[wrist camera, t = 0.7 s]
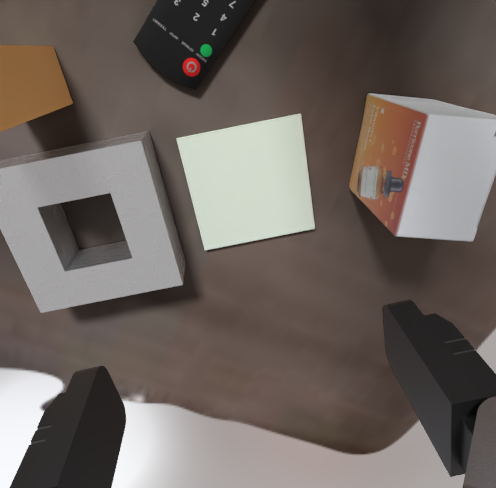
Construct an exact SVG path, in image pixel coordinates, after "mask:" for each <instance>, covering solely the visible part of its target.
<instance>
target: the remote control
mask: <svg viewBox="0 0 496 488" xmlns="http://www.w3.org/2000/svg"><path fill="white" fill-rule="evenodd" d="M254 1H255V0H158V1H157V2H156V4H155V6H154V7H153V9H152V11H151V13H150V14H149V16H148V18H147V19H146V21H145V23H144V24H143V26H142V28H141V30H140V31H139V33H138V35H137V36H136V38H135V40H134V41H133V42H134V43H135V45H136V46H137V47H138V49H139V50H140V51H141V53H142V54H143V55H144V57H145V58H146V59H147V60H148V61H149V62H150V63H151V64H152V65H153V66H154V67H155V68H156V69H157V70H158V71H159V72H161V73H162V74H164V75H165V76H167V77H169V78H170V79H172V80H174V81H175V82H177V83H179V84H182V85H185V86H188V87H190V88H193V89H196V88H197V87H198V85H199V84H200V82H201V81H202V79H203V78H204V76H205V75H206V73H207V72H208V70H209V69H210V67H211V66H212V64H213V63H214V61H215V60H216V58H217V56H218V55H219V53H220V52H221V50H222V49H223V47H224V46H225V44H226V43H227V41H228V40H229V38H230V37H231V35H232V34H233V32H234V31H235V29H236V28H237V26H238V25H239V23H240V22H241V20H242V19H243V17H244V16H245V14H246V13H247V11H248V10H249V8H250V7H251V5H252V4H253V2H254Z"/></svg>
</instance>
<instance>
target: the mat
mask: <svg viewBox="0 0 496 488" xmlns="http://www.w3.org/2000/svg"><path fill="white" fill-rule="evenodd" d="M177 143H178V147H179V151H180V155H181V159H182V163H183V167H184V171H185V174H186V178H187V182H188V186H189V190H190V194H191V198H192V202H193V206H194V210H195V214H196V218H197V222H198V226H199V230H200V233H201V237H202V241H203V245H204V249H205V250H210V249H215V248H220V247H225V246H230V245H235V244H240V243H245V242H250V241H255V240H260V239H265V238H271V237H276V236H281V235H286V234H291V233H296V232H301V231H306V230H311V229H315V225H314V216H313V208H312V200H311V192H310V184H309V175H308V167H307V159H306V151H305V143H304V134H303V126H302V118H301V114H295V115H290V116H285V117H280V118H275V119H270V120H265V121H260V122H255V123H250V124H245V125H240V126H235V127H230V128H225V129H220V130H215V131H210V132H205V133H200V134H195V135H190V136H185V137H180V138H177Z"/></svg>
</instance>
